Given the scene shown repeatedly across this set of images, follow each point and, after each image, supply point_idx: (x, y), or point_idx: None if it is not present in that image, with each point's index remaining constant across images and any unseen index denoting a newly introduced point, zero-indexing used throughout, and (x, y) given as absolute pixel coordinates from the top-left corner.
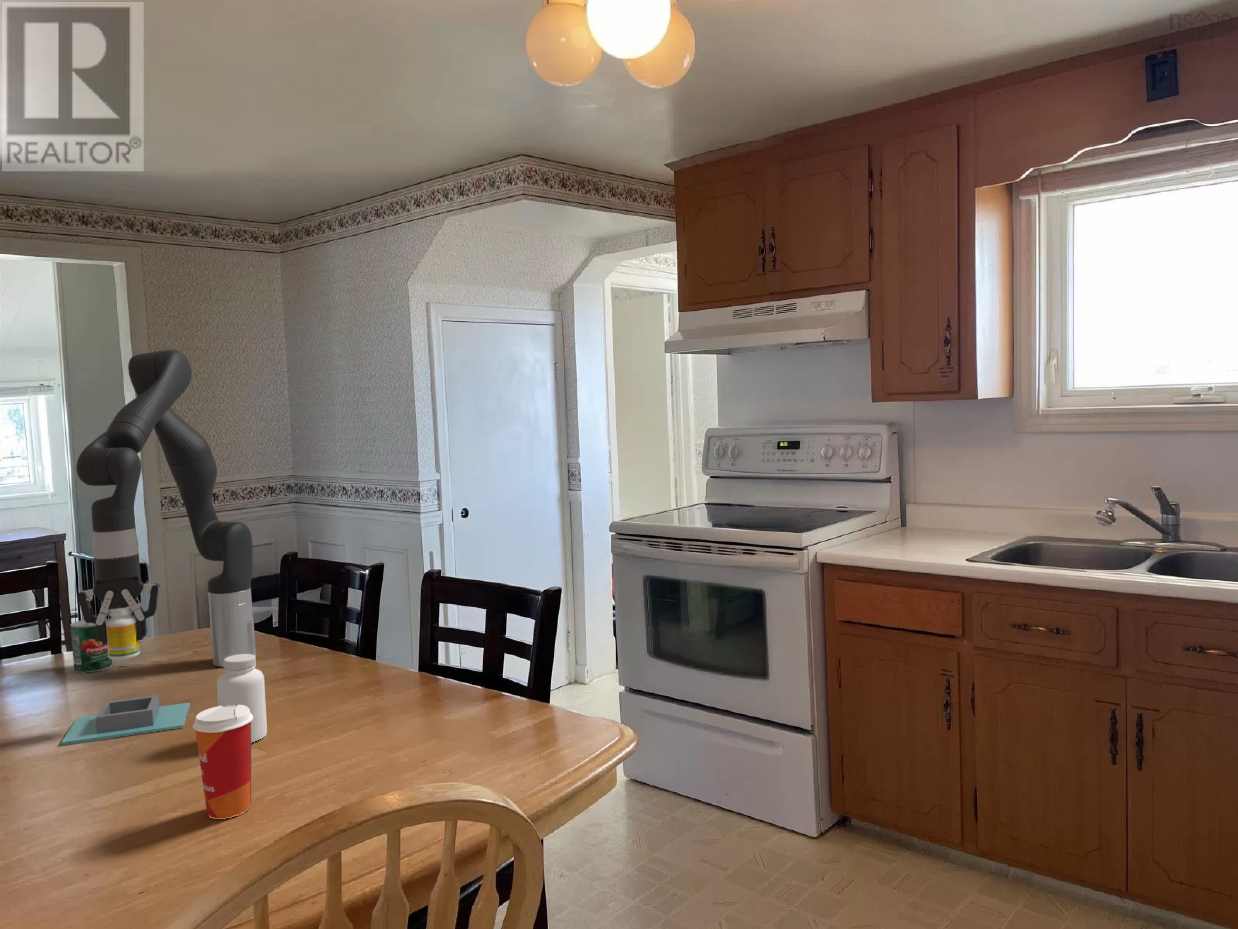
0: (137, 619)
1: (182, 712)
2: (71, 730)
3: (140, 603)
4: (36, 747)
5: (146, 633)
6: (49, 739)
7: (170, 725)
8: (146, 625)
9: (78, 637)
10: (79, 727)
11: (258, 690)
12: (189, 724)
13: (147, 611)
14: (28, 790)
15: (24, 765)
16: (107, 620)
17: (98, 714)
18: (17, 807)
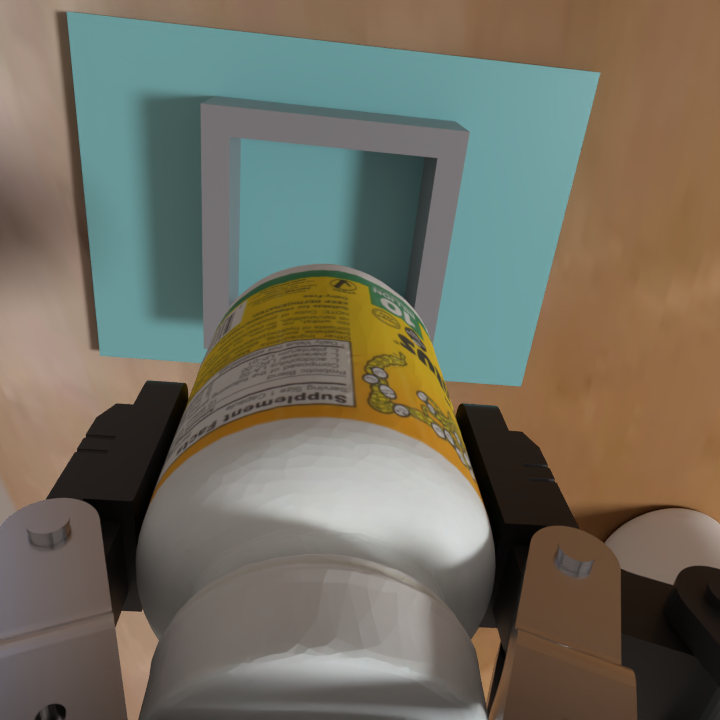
0: (494, 575)
1: (542, 225)
2: (98, 224)
3: (632, 692)
4: (8, 317)
5: (529, 447)
6: (27, 244)
7: (479, 368)
8: (560, 495)
9: None
10: (123, 197)
11: None
12: (543, 346)
13: (643, 714)
14: (120, 637)
15: (37, 473)
16: (152, 625)
17: (207, 308)
18: (127, 705)
